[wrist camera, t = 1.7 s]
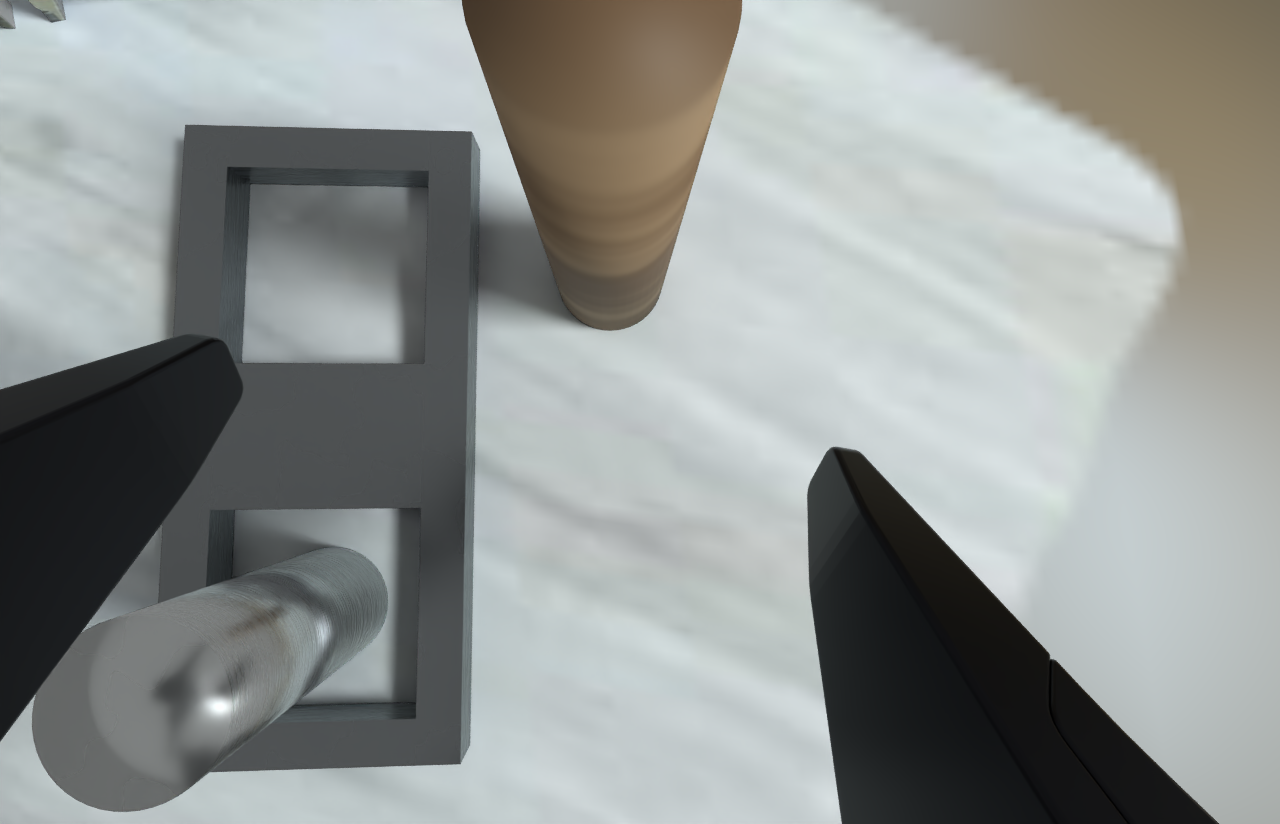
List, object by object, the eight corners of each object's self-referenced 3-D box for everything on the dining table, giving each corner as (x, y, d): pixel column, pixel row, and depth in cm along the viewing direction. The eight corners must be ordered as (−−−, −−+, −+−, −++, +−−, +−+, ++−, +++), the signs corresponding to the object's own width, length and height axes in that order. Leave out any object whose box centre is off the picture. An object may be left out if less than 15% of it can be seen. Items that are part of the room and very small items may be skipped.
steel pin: (386, 659, 19) (225, 808, 11) (271, 662, 19) (24, 815, 11) (389, 546, 20) (234, 613, 12) (275, 548, 19) (38, 616, 11)
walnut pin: (662, 330, 21) (745, 130, 8) (557, 330, 20) (458, 123, 7) (661, 228, 21) (739, -132, 8) (557, 227, 21) (463, -145, 8)
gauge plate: (470, 744, 19) (460, 764, 18) (178, 753, 19) (149, 774, 18) (479, 149, 21) (471, 131, 20) (210, 143, 20) (185, 124, 19)
